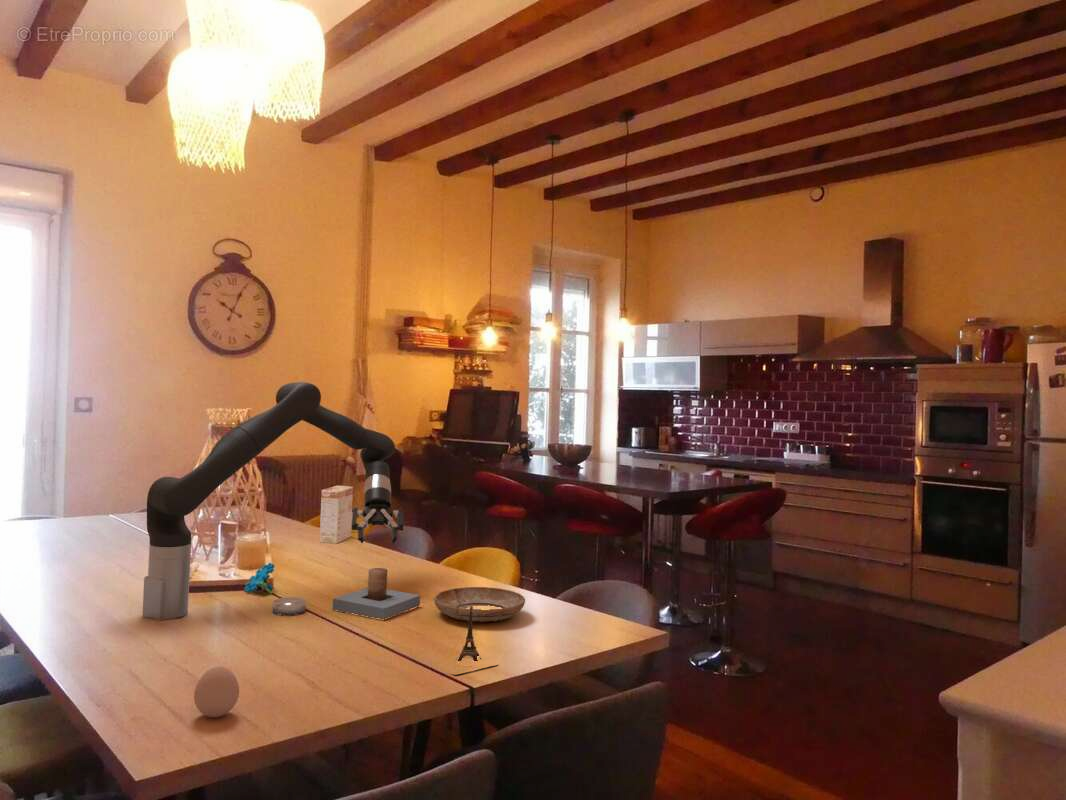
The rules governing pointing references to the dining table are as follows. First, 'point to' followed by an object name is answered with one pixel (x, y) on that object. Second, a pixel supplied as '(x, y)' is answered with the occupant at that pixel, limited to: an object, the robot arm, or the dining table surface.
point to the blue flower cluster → (260, 579)
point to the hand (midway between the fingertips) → (377, 541)
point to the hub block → (376, 603)
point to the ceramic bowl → (479, 603)
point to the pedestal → (289, 606)
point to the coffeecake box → (336, 514)
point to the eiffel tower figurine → (467, 649)
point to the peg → (377, 584)
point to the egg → (216, 692)
